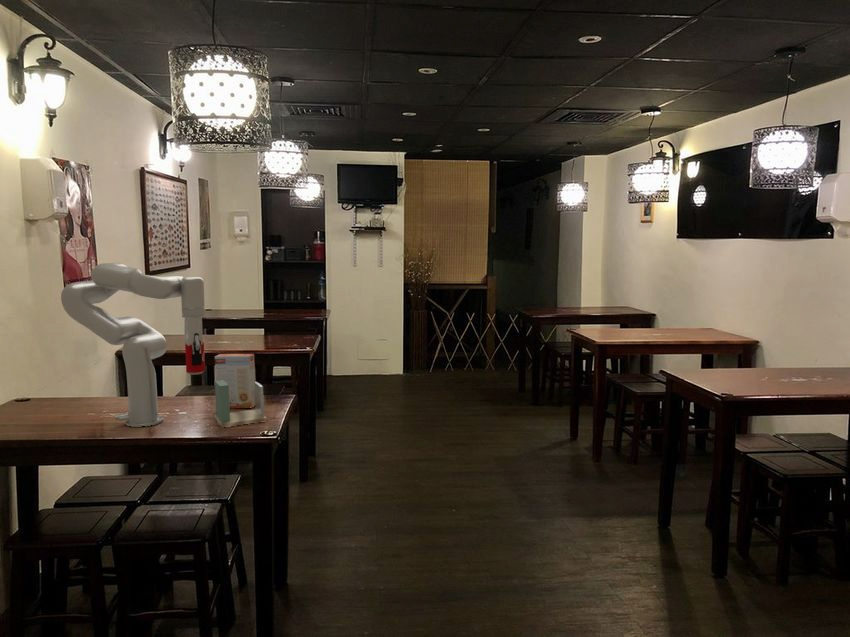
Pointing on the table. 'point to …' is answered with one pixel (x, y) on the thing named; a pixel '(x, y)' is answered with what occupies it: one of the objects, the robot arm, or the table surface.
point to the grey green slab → (222, 400)
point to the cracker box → (237, 378)
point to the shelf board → (241, 418)
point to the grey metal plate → (259, 399)
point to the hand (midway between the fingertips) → (195, 363)
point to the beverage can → (189, 367)
